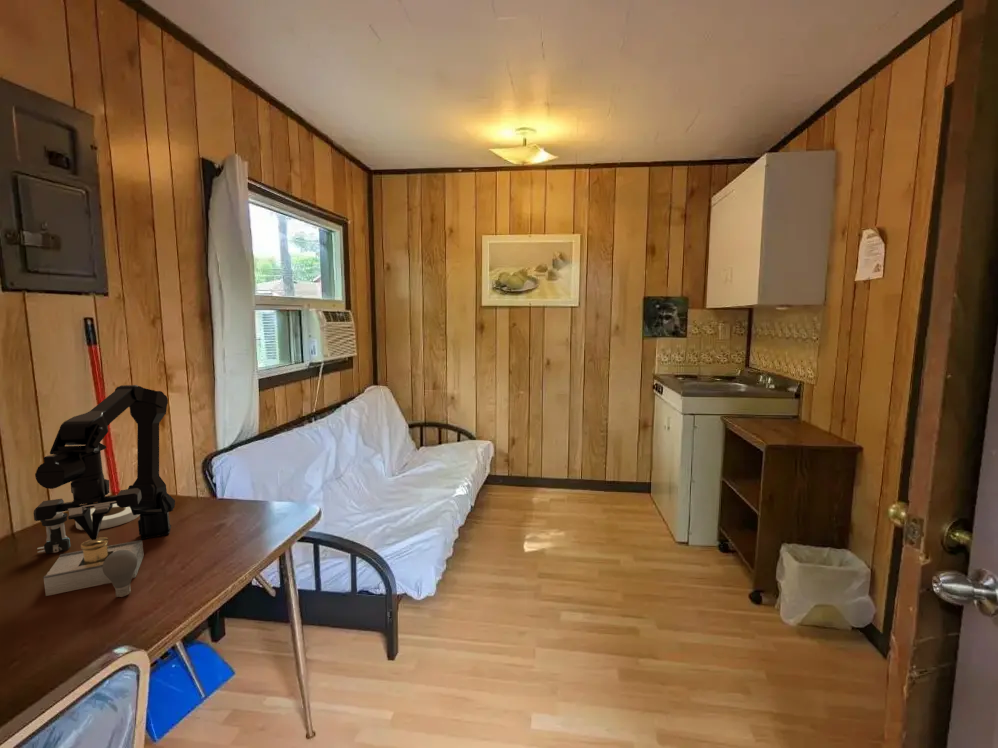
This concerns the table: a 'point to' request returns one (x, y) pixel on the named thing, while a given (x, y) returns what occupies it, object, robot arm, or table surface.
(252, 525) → the table surface
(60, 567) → the jig
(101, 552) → the door knob
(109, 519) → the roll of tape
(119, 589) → the light bulb
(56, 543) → the push button
